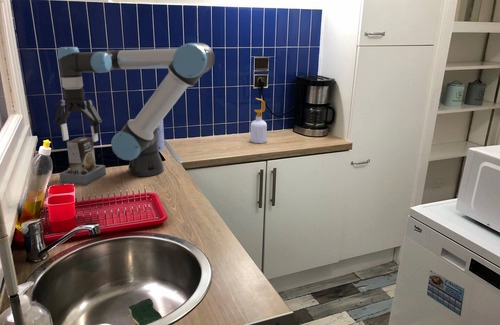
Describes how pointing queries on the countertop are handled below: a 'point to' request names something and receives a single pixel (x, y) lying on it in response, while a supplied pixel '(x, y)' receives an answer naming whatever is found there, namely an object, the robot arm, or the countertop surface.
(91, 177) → the pocket tray
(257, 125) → the soap bottle
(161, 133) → the aerosol can
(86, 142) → the coffee box
